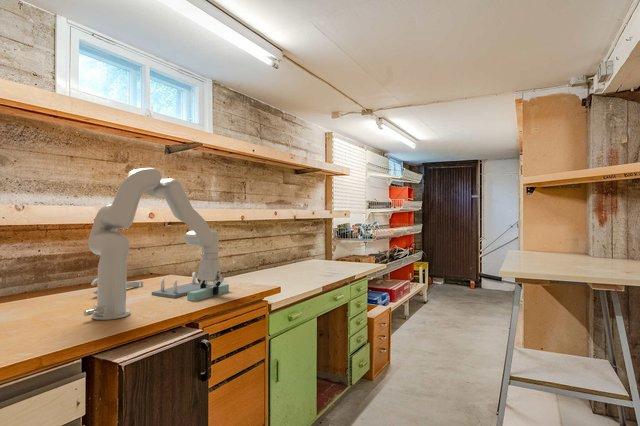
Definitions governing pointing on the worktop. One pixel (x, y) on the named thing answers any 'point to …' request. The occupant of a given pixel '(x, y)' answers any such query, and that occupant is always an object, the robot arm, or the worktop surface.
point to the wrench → (128, 284)
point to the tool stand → (179, 288)
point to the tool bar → (206, 292)
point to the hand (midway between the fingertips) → (209, 293)
